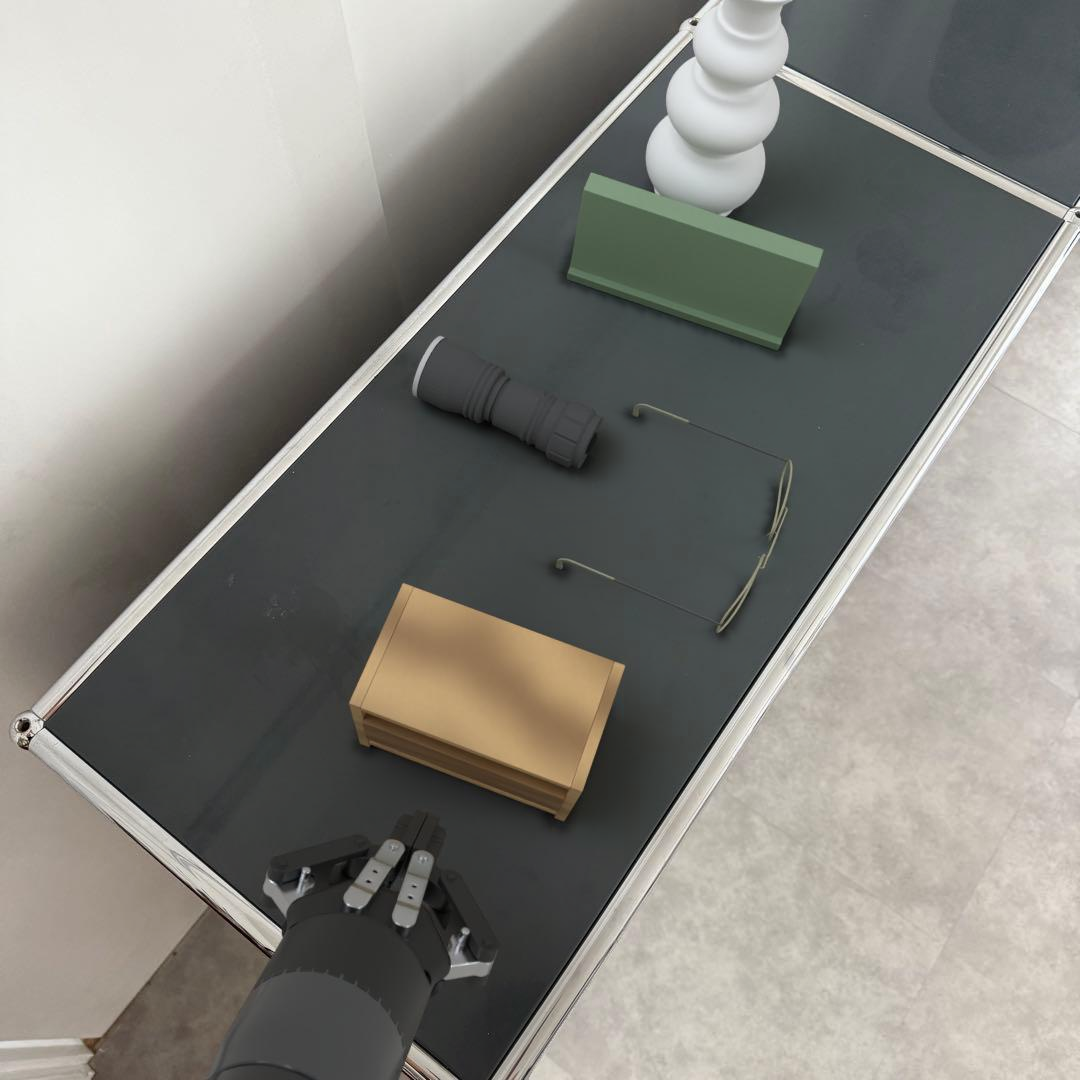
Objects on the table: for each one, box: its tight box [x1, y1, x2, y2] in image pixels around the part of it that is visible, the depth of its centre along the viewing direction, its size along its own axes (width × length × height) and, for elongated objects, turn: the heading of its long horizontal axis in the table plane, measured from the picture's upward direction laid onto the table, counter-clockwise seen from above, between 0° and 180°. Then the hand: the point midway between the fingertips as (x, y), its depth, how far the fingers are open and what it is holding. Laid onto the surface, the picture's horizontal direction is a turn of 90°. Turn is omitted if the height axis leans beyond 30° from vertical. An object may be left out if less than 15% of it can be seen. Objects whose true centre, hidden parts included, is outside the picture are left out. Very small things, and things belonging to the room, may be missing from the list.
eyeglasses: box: [555, 403, 793, 634], centre depth 88 cm, size 16×15×5 cm
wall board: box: [566, 172, 824, 352], centre depth 95 cm, size 5×20×11 cm, turn 71°
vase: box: [645, 0, 794, 217], centre depth 93 cm, size 11×11×25 cm
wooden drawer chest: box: [348, 582, 626, 822], centre depth 77 cm, size 9×16×11 cm, turn 70°
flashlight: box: [411, 335, 604, 469], centre depth 90 cm, size 15×5×5 cm, turn 64°
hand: (424, 824), depth 64 cm, fingers closed
